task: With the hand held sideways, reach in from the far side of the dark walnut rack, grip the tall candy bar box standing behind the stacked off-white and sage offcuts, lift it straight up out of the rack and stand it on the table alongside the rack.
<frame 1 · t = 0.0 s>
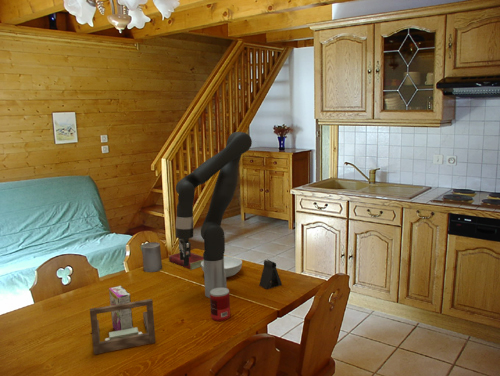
hand: (184, 262, 195), 17 cm above the table, tool pointing down, fingers open, 8 cm apart
serving bowl: (222, 275, 228), on the table
pillar candle: (152, 269, 240), on the table
hardcover book: (188, 264, 249), on the table
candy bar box: (122, 332, 170), on the table
upper offcut: (124, 337, 162), point 2 cm above the table, touching lower offcut
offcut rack: (122, 331, 170), on the table
phone stand: (270, 285, 211), on the table
canned food: (220, 317, 180), on the table
lower offcut: (124, 343, 162), on the table, touching upper offcut
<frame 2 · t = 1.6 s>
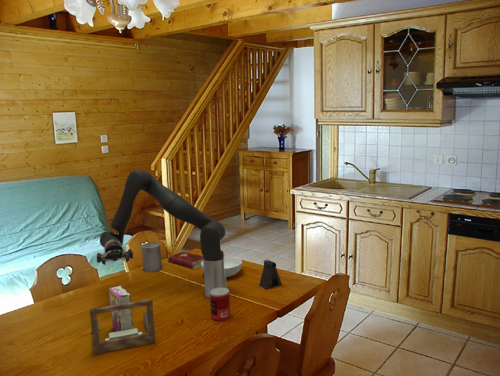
hand: (115, 261, 178), 24 cm above the table, tool horizontal, fingers open, 8 cm apart
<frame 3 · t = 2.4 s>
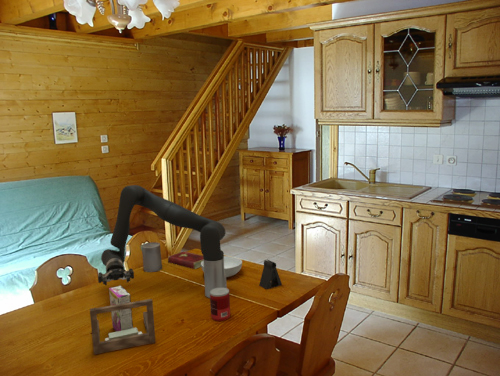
hand: (117, 281, 180), 16 cm above the table, tool horizontal, fingers open, 8 cm apart
nothing on the table moved.
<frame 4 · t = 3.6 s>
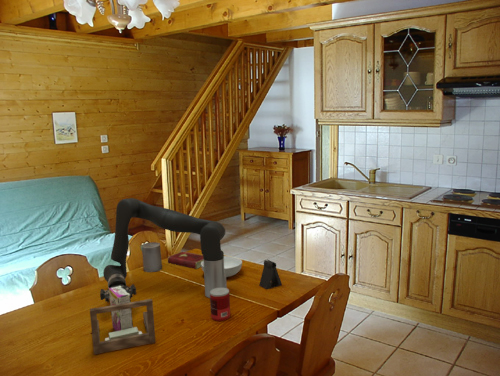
hand: (119, 298, 179), 9 cm above the table, tool horizontal, fingers open, 8 cm apart
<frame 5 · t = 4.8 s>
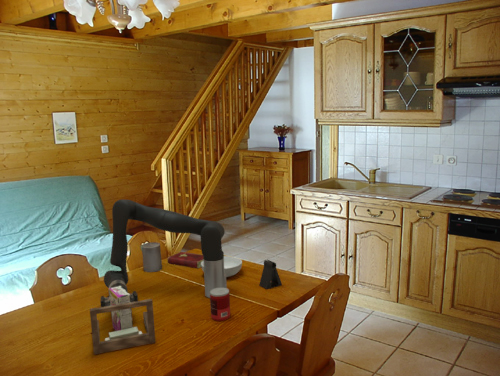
hand: (120, 306, 172), 9 cm above the table, tool horizontal, fingers open, 8 cm apart
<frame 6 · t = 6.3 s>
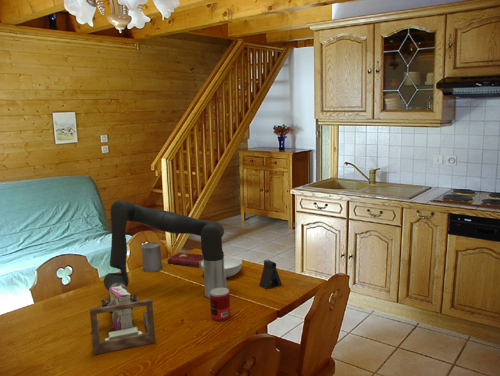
hand: (120, 310, 168), 9 cm above the table, tool horizontal, fingers closed on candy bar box, 6 cm apart
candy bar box: (122, 332, 170), on the table, touching gripper
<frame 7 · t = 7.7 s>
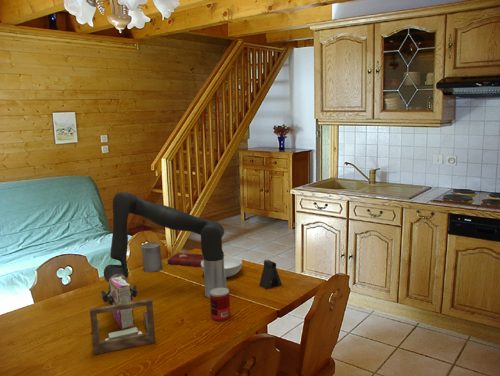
hand: (120, 300, 167), 13 cm above the table, tool horizontal, fingers closed on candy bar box, 6 cm apart
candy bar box: (123, 322, 170), point 4 cm above the table, touching gripper
when the fingers open (10 cm above the table, at t = 13.0 s): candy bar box stays where it is, on the table.
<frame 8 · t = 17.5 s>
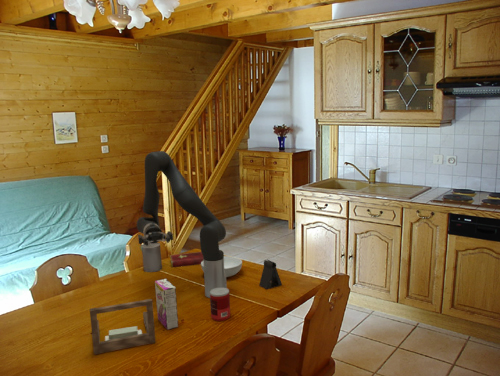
hand: (157, 241, 183), 30 cm above the table, tool horizontal, fingers open, 8 cm apart
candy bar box: (167, 323, 176), on the table
upper offcut: (123, 336, 163), point 2 cm above the table
lower offcut: (124, 341, 164), on the table
at the end: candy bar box inside the target area (0.7 cm from its centre), on the table; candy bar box tilted 0°; upper offcut moved 1.5 cm from its start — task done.
